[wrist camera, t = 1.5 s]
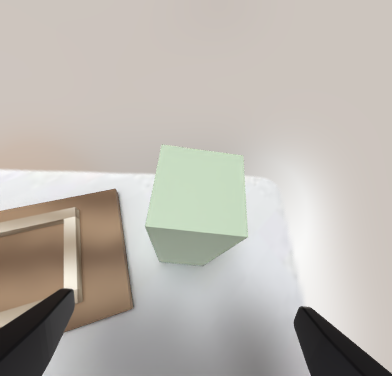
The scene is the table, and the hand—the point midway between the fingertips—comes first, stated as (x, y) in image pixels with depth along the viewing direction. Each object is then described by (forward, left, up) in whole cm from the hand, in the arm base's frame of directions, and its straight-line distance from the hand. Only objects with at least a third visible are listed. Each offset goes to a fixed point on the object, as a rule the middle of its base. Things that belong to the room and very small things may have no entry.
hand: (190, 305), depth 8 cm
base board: (+6, +12, -12) cm, 18 cm away
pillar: (+5, -2, -12) cm, 13 cm away
